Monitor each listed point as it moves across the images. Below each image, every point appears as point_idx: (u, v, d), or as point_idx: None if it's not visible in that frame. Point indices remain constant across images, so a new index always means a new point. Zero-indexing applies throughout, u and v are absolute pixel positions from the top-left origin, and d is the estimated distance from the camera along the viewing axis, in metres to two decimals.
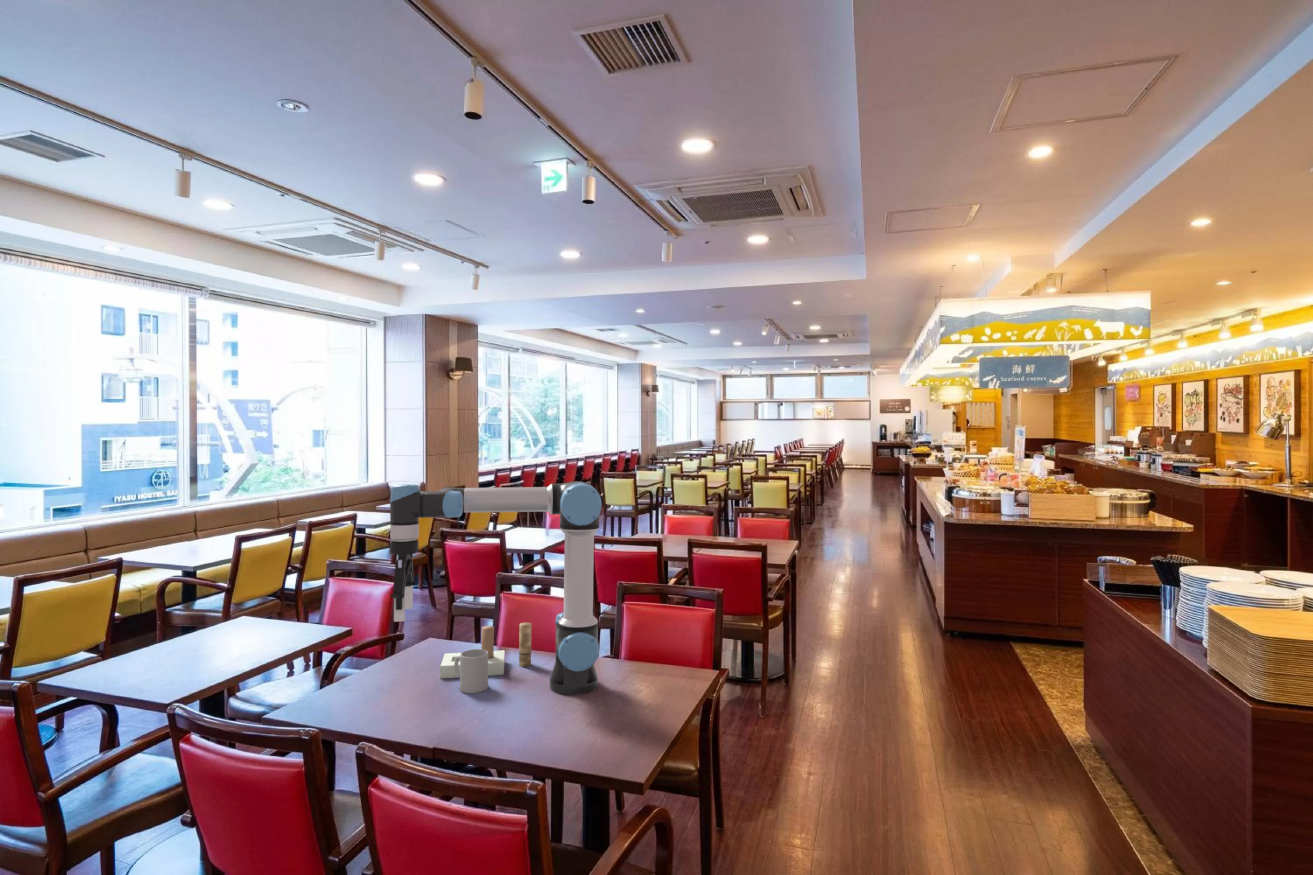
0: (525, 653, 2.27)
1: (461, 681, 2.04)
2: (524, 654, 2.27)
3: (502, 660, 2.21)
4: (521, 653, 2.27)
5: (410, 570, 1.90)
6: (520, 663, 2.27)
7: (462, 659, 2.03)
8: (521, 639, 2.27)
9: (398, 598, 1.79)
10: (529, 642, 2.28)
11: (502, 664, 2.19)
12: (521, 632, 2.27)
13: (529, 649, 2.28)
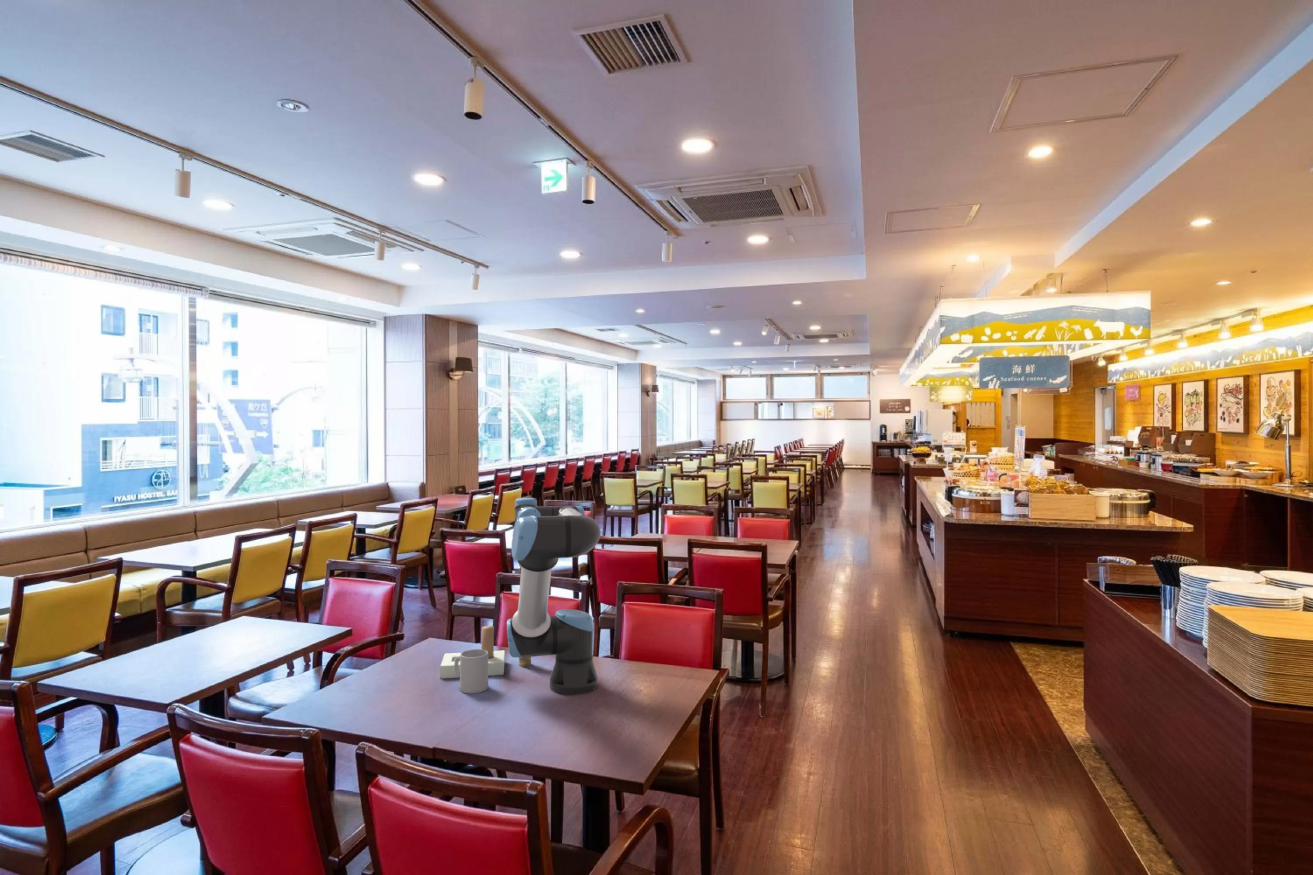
0: None
1: (461, 681, 2.04)
2: None
3: (502, 660, 2.21)
4: None
5: None
6: (520, 663, 2.27)
7: (462, 659, 2.03)
8: None
9: None
10: None
11: (502, 664, 2.19)
12: None
13: None
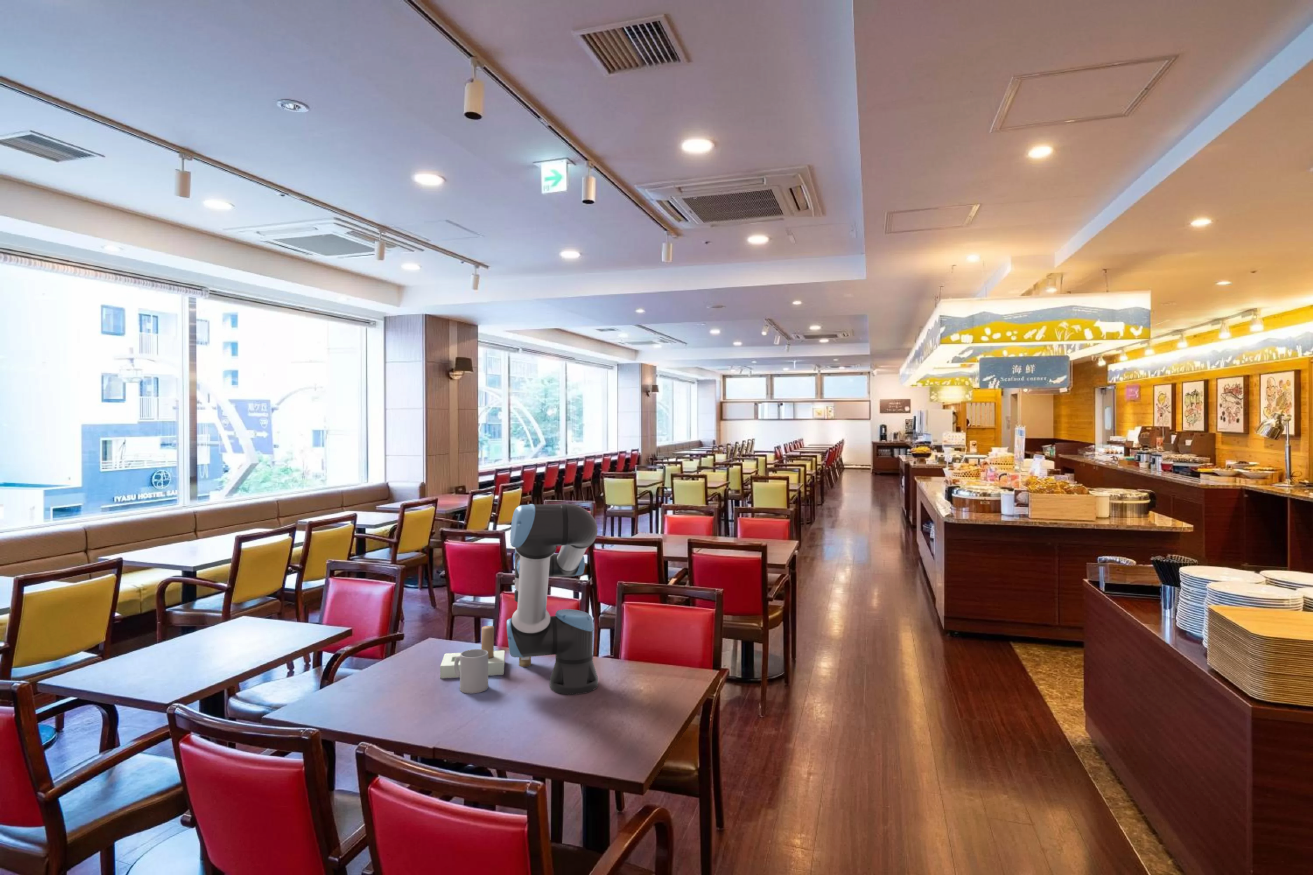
0: None
1: (461, 681, 2.04)
2: None
3: (502, 660, 2.21)
4: None
5: None
6: (520, 663, 2.27)
7: (462, 659, 2.03)
8: None
9: None
10: None
11: (502, 664, 2.19)
12: None
13: None
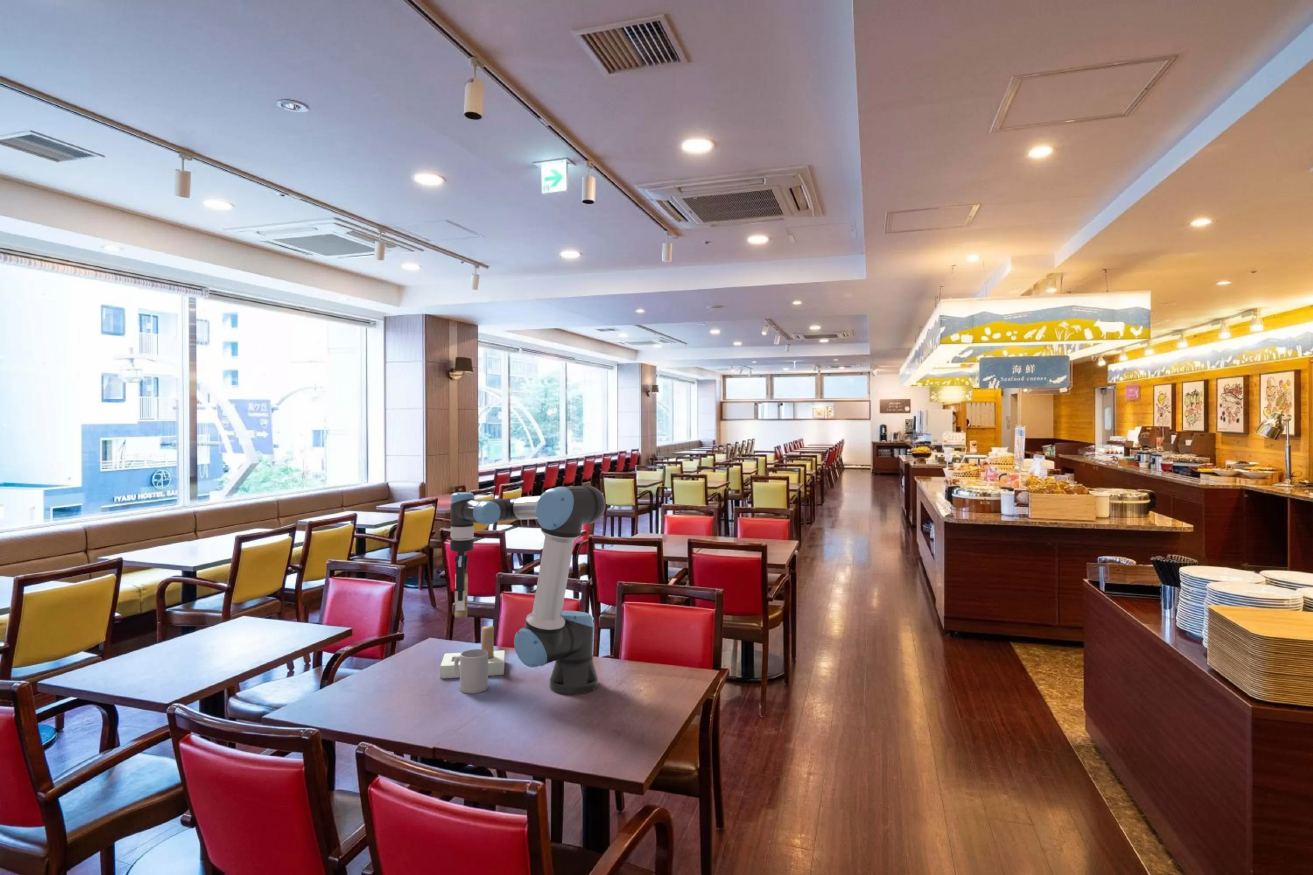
0: None
1: (461, 681, 2.04)
2: None
3: (502, 660, 2.21)
4: None
5: (465, 567, 2.25)
6: (455, 614, 2.22)
7: (462, 659, 2.03)
8: None
9: (460, 591, 2.19)
10: (465, 592, 2.22)
11: (502, 664, 2.19)
12: None
13: (465, 600, 2.22)
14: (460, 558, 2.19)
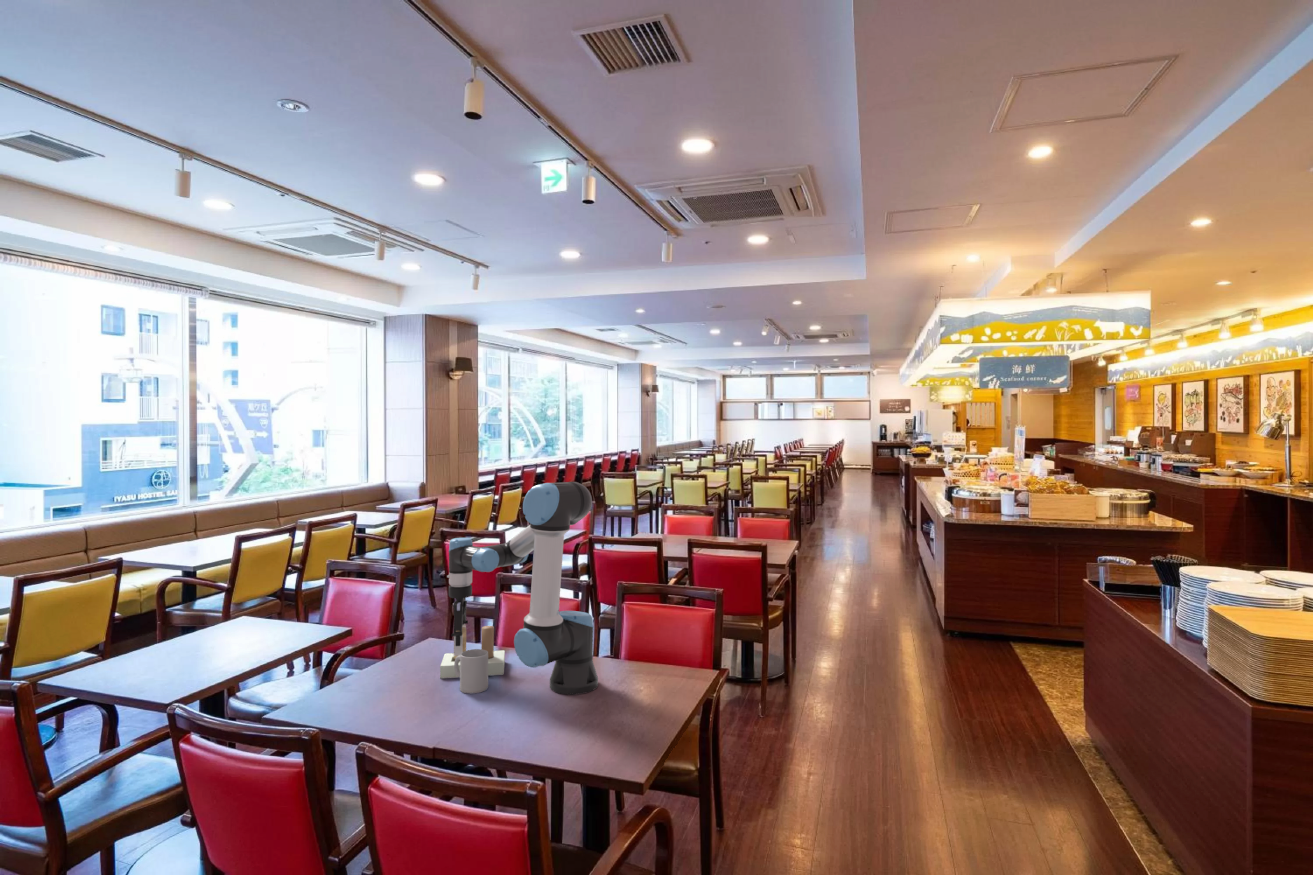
0: None
1: (461, 681, 2.04)
2: None
3: (502, 660, 2.21)
4: None
5: (464, 610, 2.26)
6: None
7: (462, 659, 2.03)
8: None
9: (457, 636, 2.15)
10: (464, 647, 2.22)
11: (502, 664, 2.19)
12: None
13: None
14: (459, 603, 2.18)
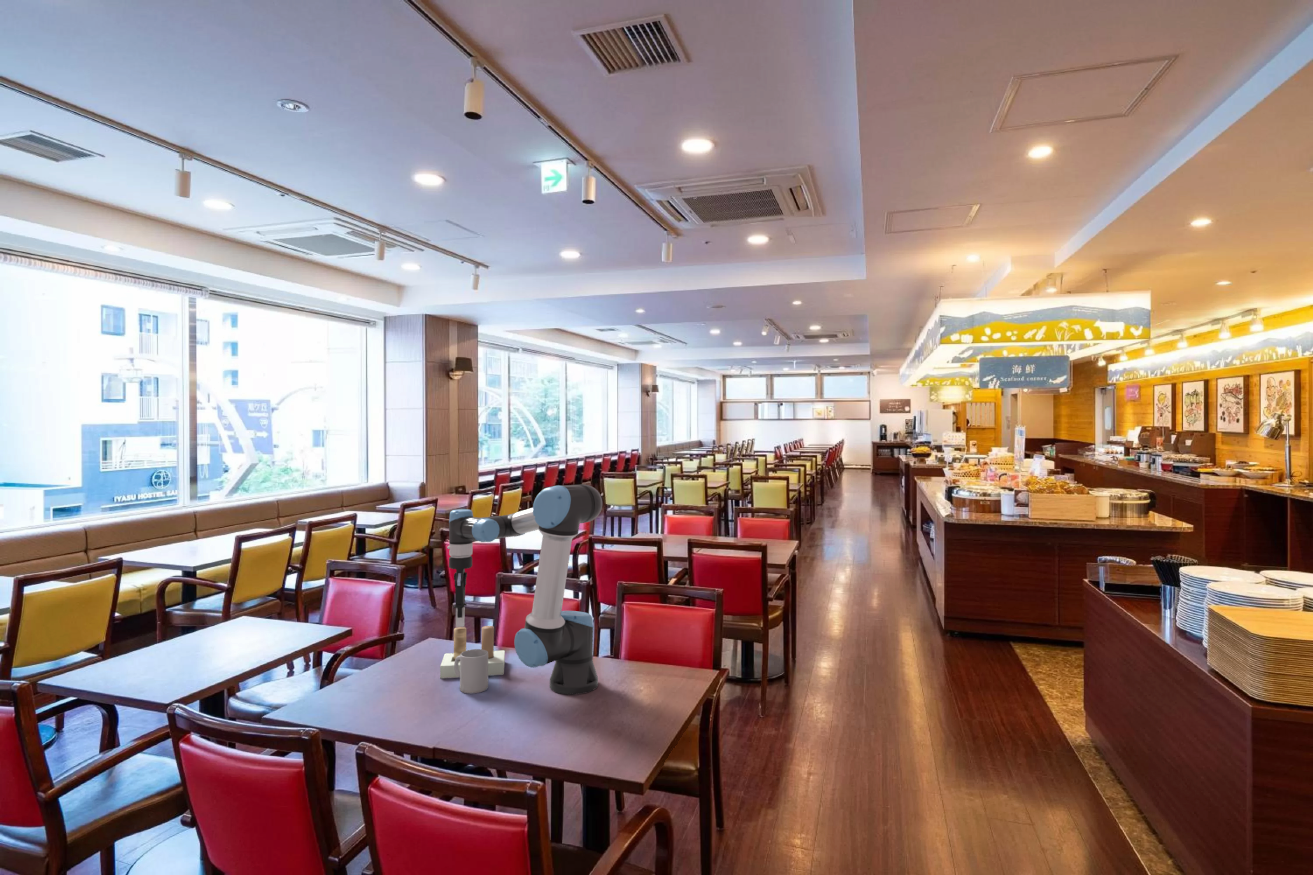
0: None
1: (461, 681, 2.04)
2: None
3: (502, 660, 2.21)
4: None
5: (464, 584, 2.24)
6: None
7: (462, 659, 2.03)
8: (455, 644, 2.21)
9: (459, 608, 2.21)
10: (464, 647, 2.22)
11: (502, 664, 2.19)
12: (455, 637, 2.21)
13: None
14: (459, 576, 2.19)
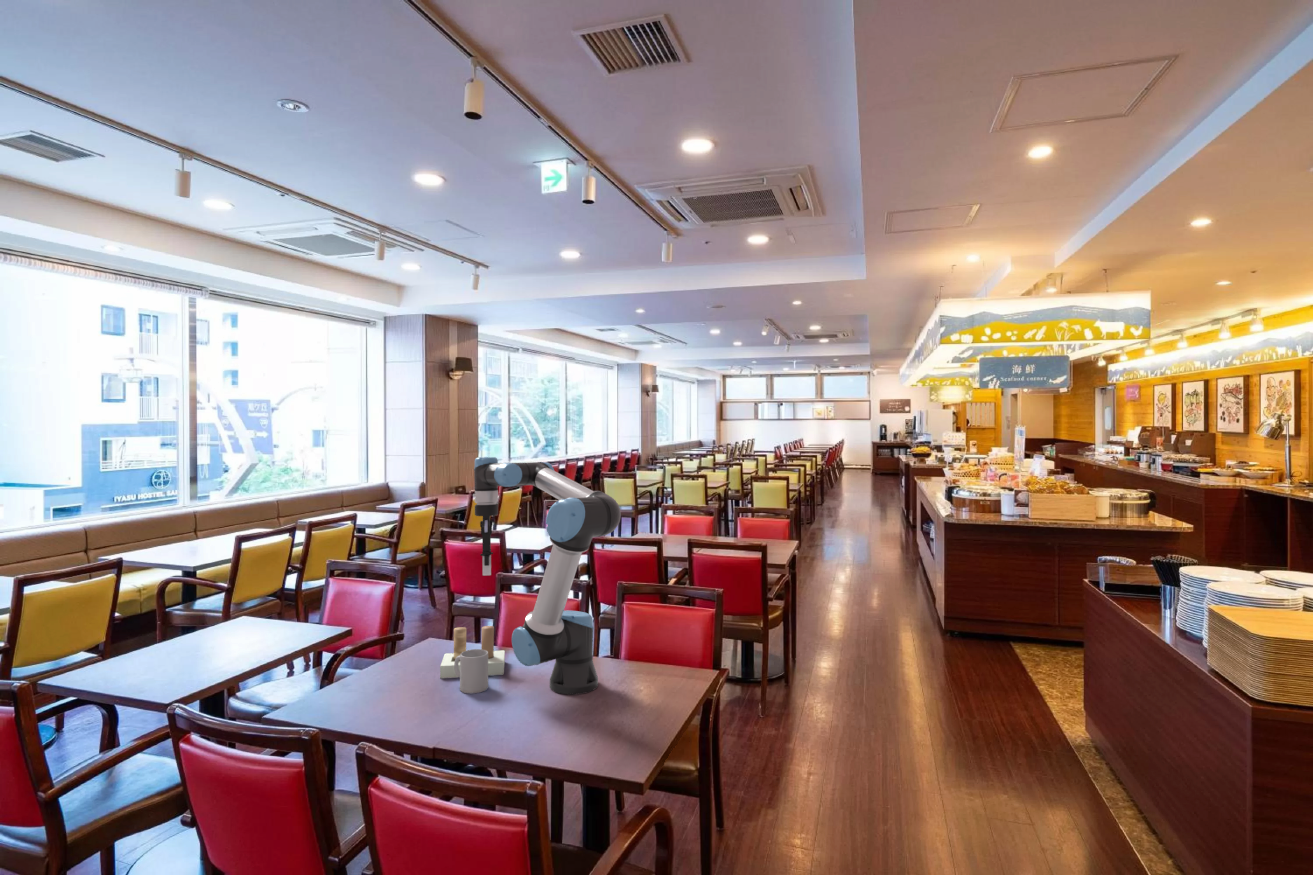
0: None
1: (461, 681, 2.04)
2: None
3: (502, 660, 2.21)
4: None
5: None
6: None
7: (462, 659, 2.03)
8: (455, 644, 2.21)
9: (486, 556, 2.18)
10: (464, 647, 2.22)
11: (502, 664, 2.19)
12: (455, 637, 2.21)
13: None
14: (486, 523, 2.16)
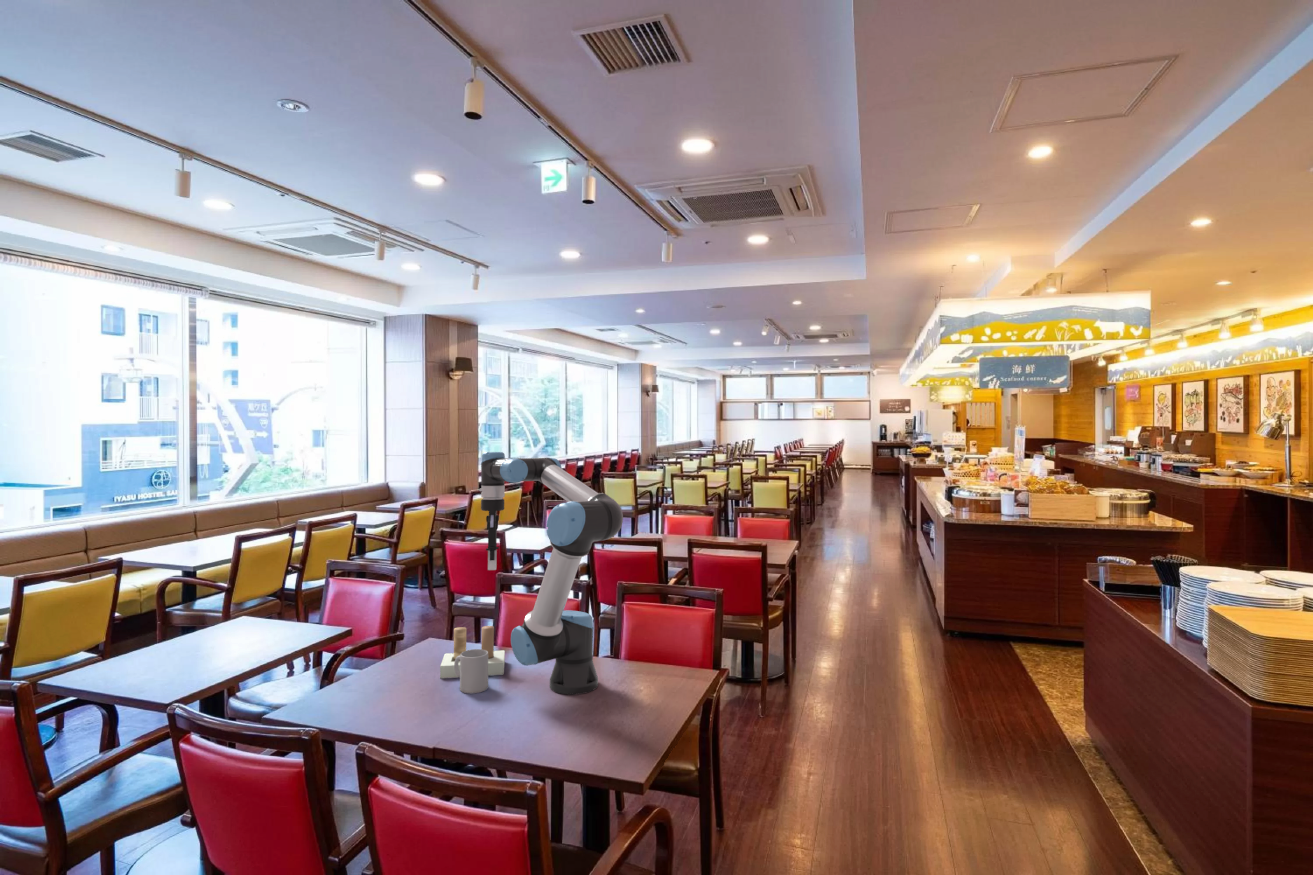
0: None
1: (461, 681, 2.04)
2: None
3: (502, 660, 2.21)
4: None
5: None
6: None
7: (462, 659, 2.03)
8: (455, 644, 2.21)
9: (492, 550, 2.18)
10: (464, 647, 2.22)
11: (502, 664, 2.19)
12: (455, 637, 2.21)
13: None
14: (492, 518, 2.16)
